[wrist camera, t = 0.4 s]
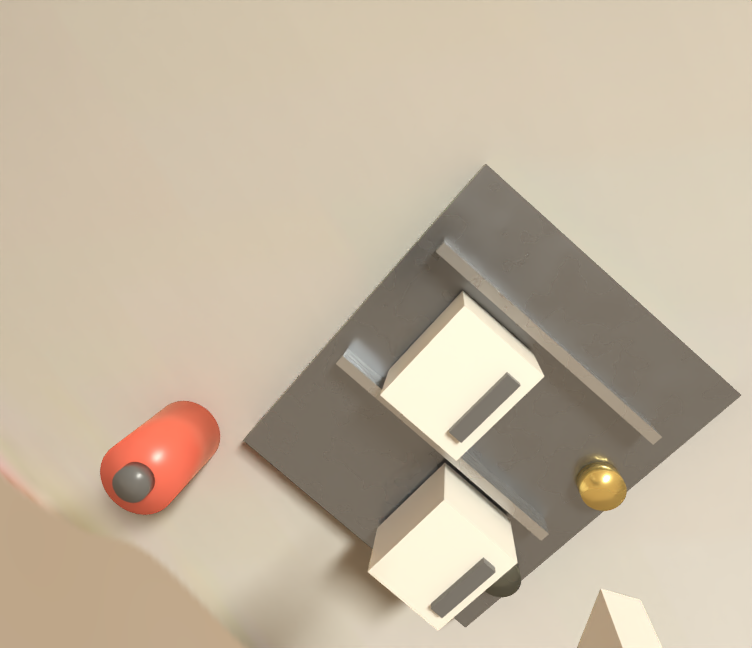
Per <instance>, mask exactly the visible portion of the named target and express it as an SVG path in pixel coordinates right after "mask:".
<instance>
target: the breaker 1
mask: <svg viewBox="0 0 752 648" xmlns="http://www.w3.org/2000/svg"><path fill="white" fill-rule="evenodd" d="M543 377H544V374H543V372H542V370H541V368H540V366H539V364H538V362H537V360H536V358H535V356H534V354H533V352H532V351H531V350H529V349H528V348H527V347H526V346H525V345H524V344H523V343H522V342H520V341H519V340H518V339H517V338H516V337H515V336H514V335H513V334H511V333H510V332H509V331H508V330H507V329H506V328H505V327H503V326H502V325H501V324H500V323H499V322H498V321H497V320H496V319H494V318H493V317H492V316H491V315H490V314H489V313H488V312H487V311H485V310H484V309H483V308H482V307H481V306H480V305H479V304H478V303H476V302H475V301H474V300H473V299H472V298H471V297H470V296H468V295H467V294H466V293H465V292H464V291H462V292H461V293H460V294H459V295H458V296H457V297H456V298H455V299H454V301H453V302H452V303H451V304H450V305H449V306H448V307H447V308H446V309H445V310H444V311H443V312H442V313H441V314H440V316H439V317H438V318H437V319H436V320H435V321H434V322H433V323H432V324H431V325H430V326H429V327H428V328H427V329H426V331H425V332H424V333H423V334H422V335H421V336H420V337H419V338H418V339H417V340H416V341H415V342H414V343H413V344H412V346H411V347H410V348H409V349H408V350H407V351H406V352H405V353H404V354H403V355H402V356H401V357H400V358H399V359H398V361H397V362H396V363H395V364H394V365H393V366H392V367H391V368H390V369H389V371H388V374H387V377H386V380H385V382H384V385H383V388H382V391H381V394H380V395H381V396H382V397H383V398H384V399H385V400H386V401H388V402H389V403H390V404H391V405H392V406H393V407H395V408H396V409H397V410H398V411H399V412H400V413H401V414H403V415H404V416H405V417H406V418H407V419H408V420H410V421H411V422H412V423H413V424H414V425H415V426H417V427H418V428H419V429H420V430H421V431H422V432H423V433H425V434H426V435H427V436H428V437H429V438H430V439H432V440H433V441H434V442H435V443H436V444H437V445H439V446H440V447H441V448H442V449H443V450H444V451H446V452H447V453H448V454H449V455H450V456H451V457H452V458H454V459H455V460H456V461H457V460H458V459H459V458H460V457H461V456H462V455H463V454H464V453H465V452H466V451H467V450H468V449H469V448H470V447H472V446H473V445H474V444H475V443H476V442H477V441H478V440H479V439H480V438H481V437H482V436H483V435H484V434H485V433H486V432H487V431H488V430H489V429H490V428H491V427H492V426H493V425H494V424H495V423H497V422H498V421H499V420H500V419H501V418H502V417H503V416H504V415H505V414H506V413H507V412H508V411H509V410H510V409H511V408H512V407H513V406H514V405H515V404H516V403H517V402H518V401H519V400H520V399H522V398H523V397H524V396H525V395H526V394H527V393H528V392H529V391H530V390H531V389H532V388H533V387H534V386H535V385H536V384H537V383H538V382H539V381H540V380H541V379H542V378H543Z"/></svg>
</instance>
